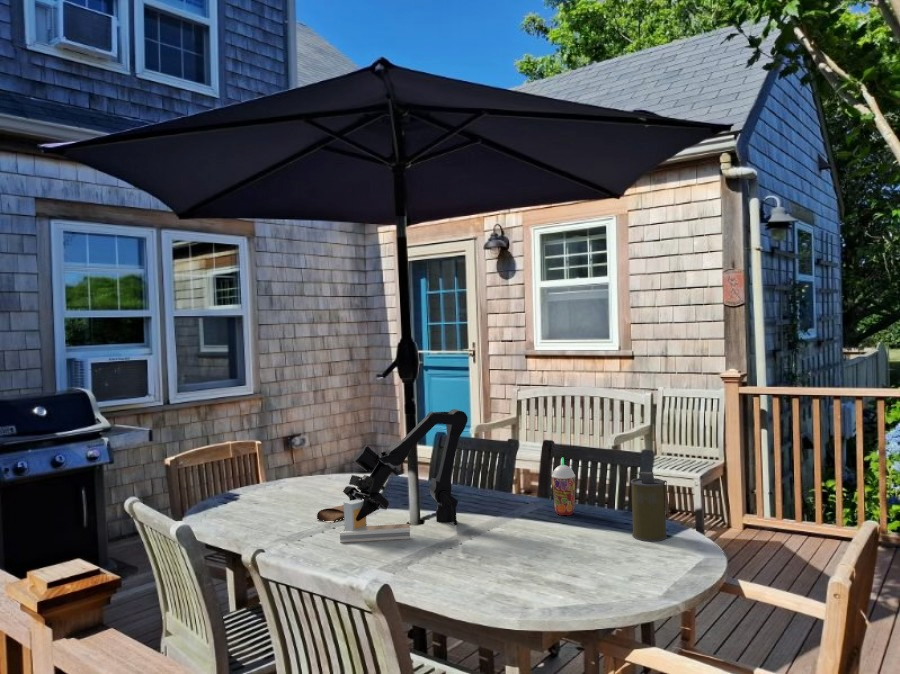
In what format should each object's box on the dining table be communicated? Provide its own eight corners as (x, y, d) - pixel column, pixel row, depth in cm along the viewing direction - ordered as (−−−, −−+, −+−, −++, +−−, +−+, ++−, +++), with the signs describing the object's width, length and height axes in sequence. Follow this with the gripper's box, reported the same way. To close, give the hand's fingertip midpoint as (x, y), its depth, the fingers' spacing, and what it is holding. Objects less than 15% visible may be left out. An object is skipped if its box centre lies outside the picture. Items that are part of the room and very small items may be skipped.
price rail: (409, 537, 233) (409, 527, 232) (409, 538, 231) (409, 529, 231) (340, 540, 231) (340, 531, 231) (340, 542, 230) (339, 533, 229)
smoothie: (550, 515, 255) (548, 459, 255) (556, 509, 263) (554, 454, 263) (573, 517, 252) (571, 460, 252) (578, 511, 260) (576, 455, 260)
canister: (630, 540, 224) (628, 475, 224) (634, 530, 234) (632, 468, 233) (666, 542, 220) (664, 477, 220) (669, 533, 230) (667, 470, 229)
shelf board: (409, 526, 248) (409, 523, 248) (410, 542, 230) (409, 539, 230) (345, 530, 247) (344, 527, 247) (340, 546, 229) (340, 543, 229)
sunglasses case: (330, 523, 256) (324, 505, 258) (321, 530, 260) (314, 513, 262) (370, 512, 269) (363, 496, 271) (360, 520, 273) (354, 503, 275)
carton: (358, 532, 240) (357, 499, 240) (367, 534, 237) (365, 501, 237) (345, 536, 236) (343, 502, 236) (353, 538, 233) (352, 504, 233)
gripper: (346, 462, 246) (320, 500, 238) (380, 468, 232) (353, 509, 225) (366, 481, 251) (341, 519, 244) (400, 488, 238) (375, 529, 230)
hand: (351, 519), depth 236 cm, fingers closed on carton, 5 cm apart
